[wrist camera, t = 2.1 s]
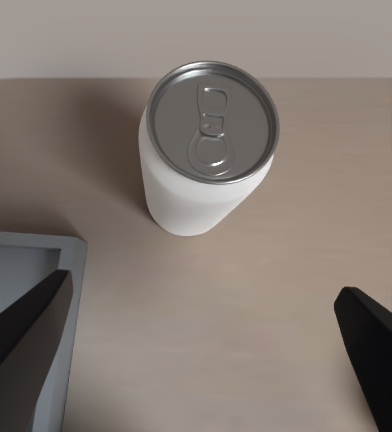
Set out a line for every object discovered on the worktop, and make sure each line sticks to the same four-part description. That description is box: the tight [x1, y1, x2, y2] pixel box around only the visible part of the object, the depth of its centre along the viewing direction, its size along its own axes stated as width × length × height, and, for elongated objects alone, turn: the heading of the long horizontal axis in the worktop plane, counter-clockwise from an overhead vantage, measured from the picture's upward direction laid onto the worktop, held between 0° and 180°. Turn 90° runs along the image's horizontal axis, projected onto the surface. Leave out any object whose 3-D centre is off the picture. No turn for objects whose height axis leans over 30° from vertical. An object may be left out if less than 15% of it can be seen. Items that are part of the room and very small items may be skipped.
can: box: [138, 61, 280, 236], centre depth 18 cm, size 6×6×12 cm
